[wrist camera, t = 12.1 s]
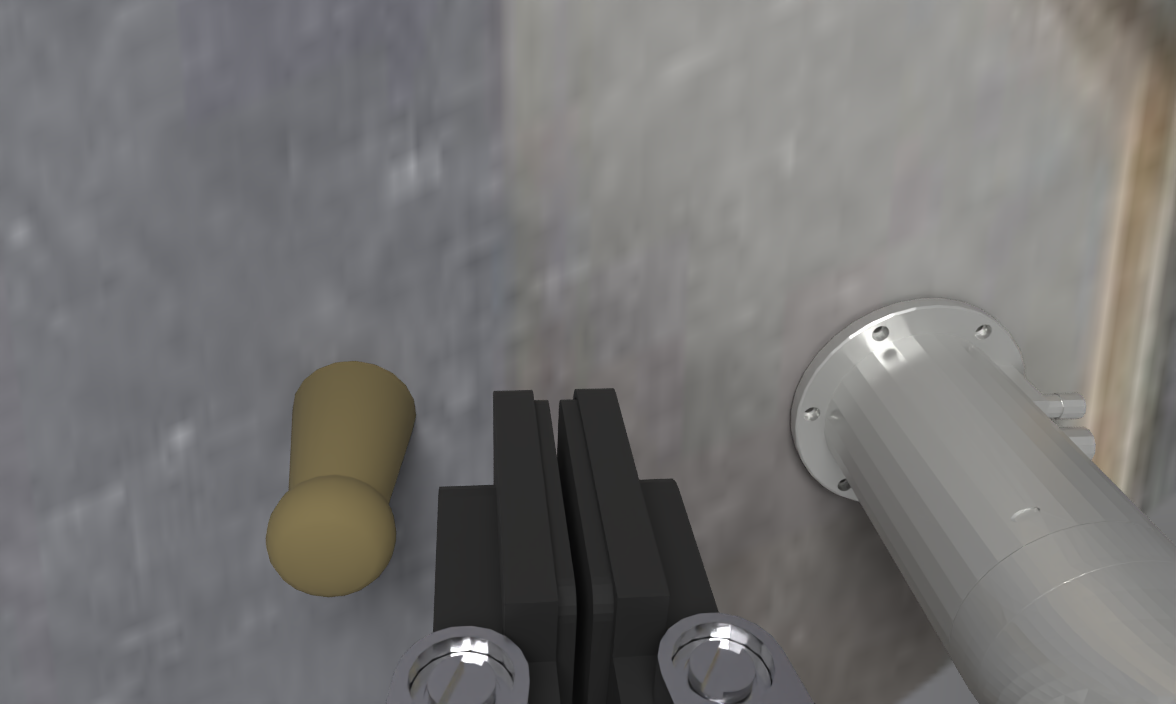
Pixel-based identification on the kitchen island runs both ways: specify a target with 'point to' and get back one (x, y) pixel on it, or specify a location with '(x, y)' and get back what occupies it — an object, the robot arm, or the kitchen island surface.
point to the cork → (341, 479)
